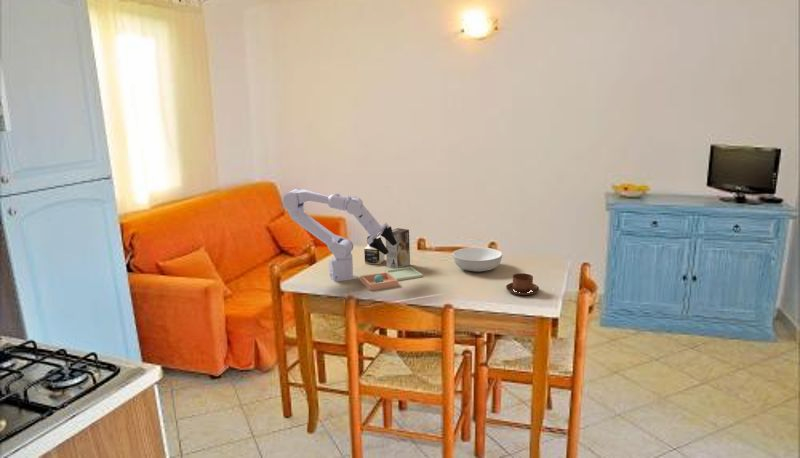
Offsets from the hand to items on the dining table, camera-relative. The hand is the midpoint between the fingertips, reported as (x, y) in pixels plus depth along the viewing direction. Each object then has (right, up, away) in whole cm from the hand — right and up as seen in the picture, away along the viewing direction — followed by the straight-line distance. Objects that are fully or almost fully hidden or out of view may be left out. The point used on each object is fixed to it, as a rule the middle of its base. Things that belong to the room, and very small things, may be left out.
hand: (391, 248), depth 220 cm
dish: (-5, -14, -3) cm, 15 cm away
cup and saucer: (+49, -16, -14) cm, 54 cm away
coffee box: (+3, -8, +20) cm, 22 cm away
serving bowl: (+36, -9, +15) cm, 40 cm away
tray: (+5, -11, +8) cm, 15 cm away
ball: (-5, -14, -3) cm, 15 cm away
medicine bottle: (-8, -7, +28) cm, 30 cm away
